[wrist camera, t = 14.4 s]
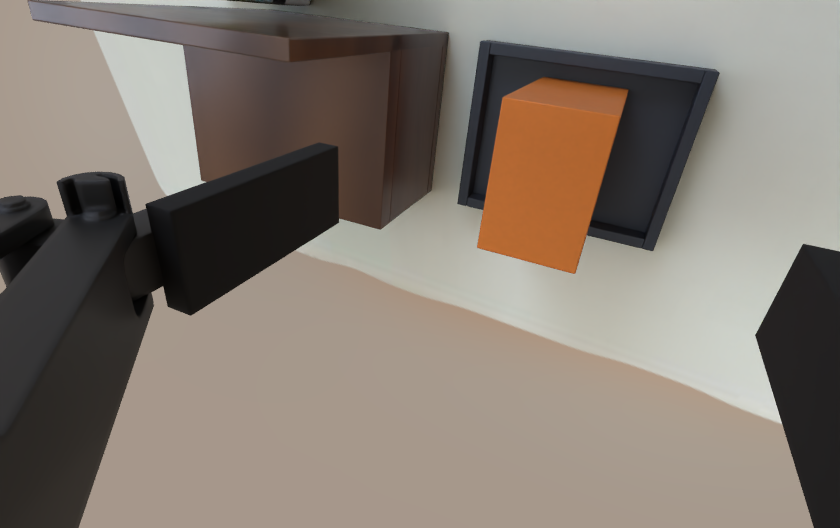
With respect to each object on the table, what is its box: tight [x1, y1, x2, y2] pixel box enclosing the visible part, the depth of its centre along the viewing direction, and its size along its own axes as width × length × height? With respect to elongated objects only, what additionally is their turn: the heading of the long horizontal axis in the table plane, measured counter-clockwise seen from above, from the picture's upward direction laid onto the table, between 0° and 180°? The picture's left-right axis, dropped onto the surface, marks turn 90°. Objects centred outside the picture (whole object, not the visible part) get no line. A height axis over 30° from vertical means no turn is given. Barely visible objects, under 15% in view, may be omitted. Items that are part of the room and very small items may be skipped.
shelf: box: [28, 0, 449, 229], centre depth 34 cm, size 17×13×20 cm
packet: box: [477, 77, 629, 274], centre depth 31 cm, size 6×9×12 cm, turn 175°
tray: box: [458, 40, 719, 251], centre depth 36 cm, size 16×13×2 cm
